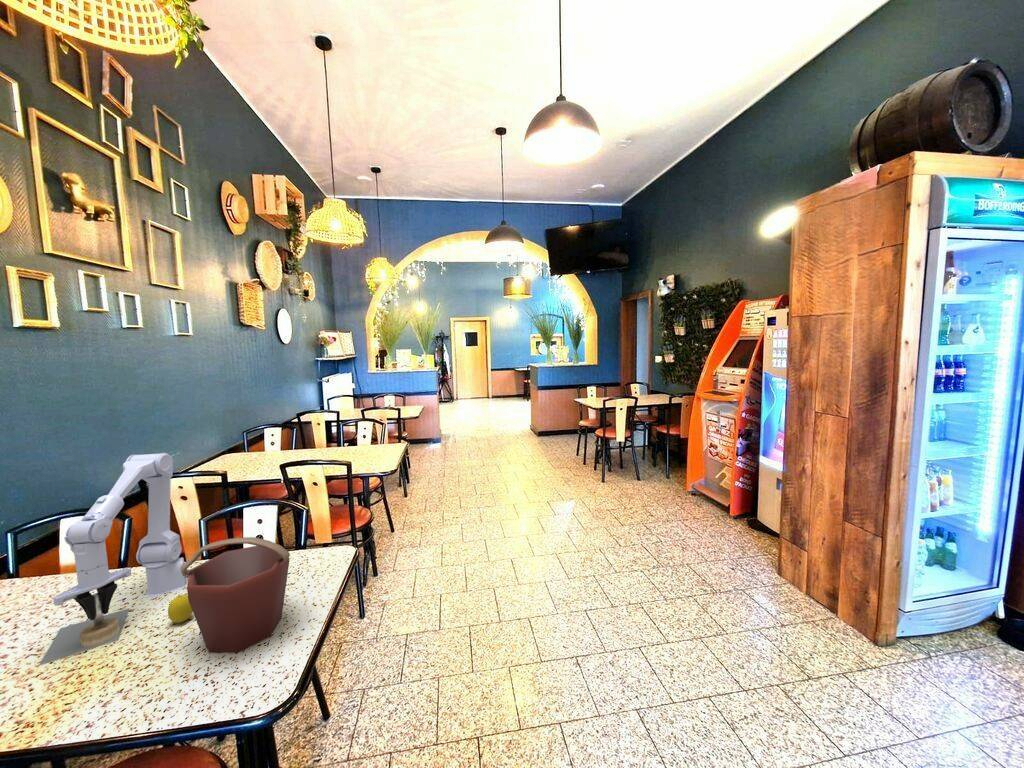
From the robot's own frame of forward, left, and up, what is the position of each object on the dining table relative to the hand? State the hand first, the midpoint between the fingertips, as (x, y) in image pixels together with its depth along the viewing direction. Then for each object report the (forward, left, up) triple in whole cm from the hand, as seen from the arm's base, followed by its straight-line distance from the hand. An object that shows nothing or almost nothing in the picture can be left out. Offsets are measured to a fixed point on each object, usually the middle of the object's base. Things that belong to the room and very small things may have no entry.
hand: (98, 615), depth 107 cm
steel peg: (0, 0, -2) cm, 2 cm away
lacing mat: (+3, -4, -7) cm, 8 cm away
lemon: (-17, +5, -7) cm, 19 cm away
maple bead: (0, 0, -6) cm, 6 cm away
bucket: (-31, +20, -7) cm, 37 cm away
